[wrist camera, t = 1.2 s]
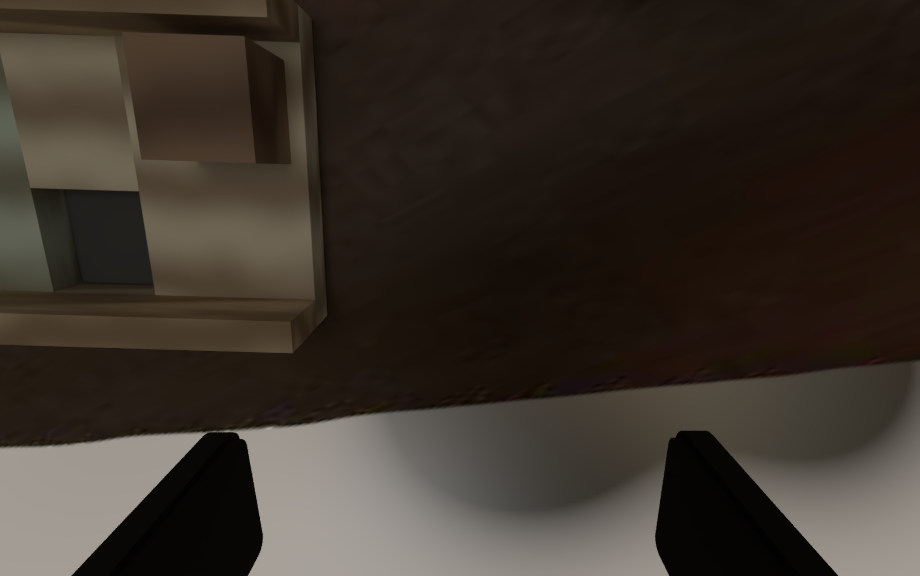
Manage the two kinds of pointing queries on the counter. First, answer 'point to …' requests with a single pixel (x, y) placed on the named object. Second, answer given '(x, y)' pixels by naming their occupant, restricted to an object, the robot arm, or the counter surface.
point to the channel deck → (152, 188)
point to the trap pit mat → (109, 236)
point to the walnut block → (207, 98)
